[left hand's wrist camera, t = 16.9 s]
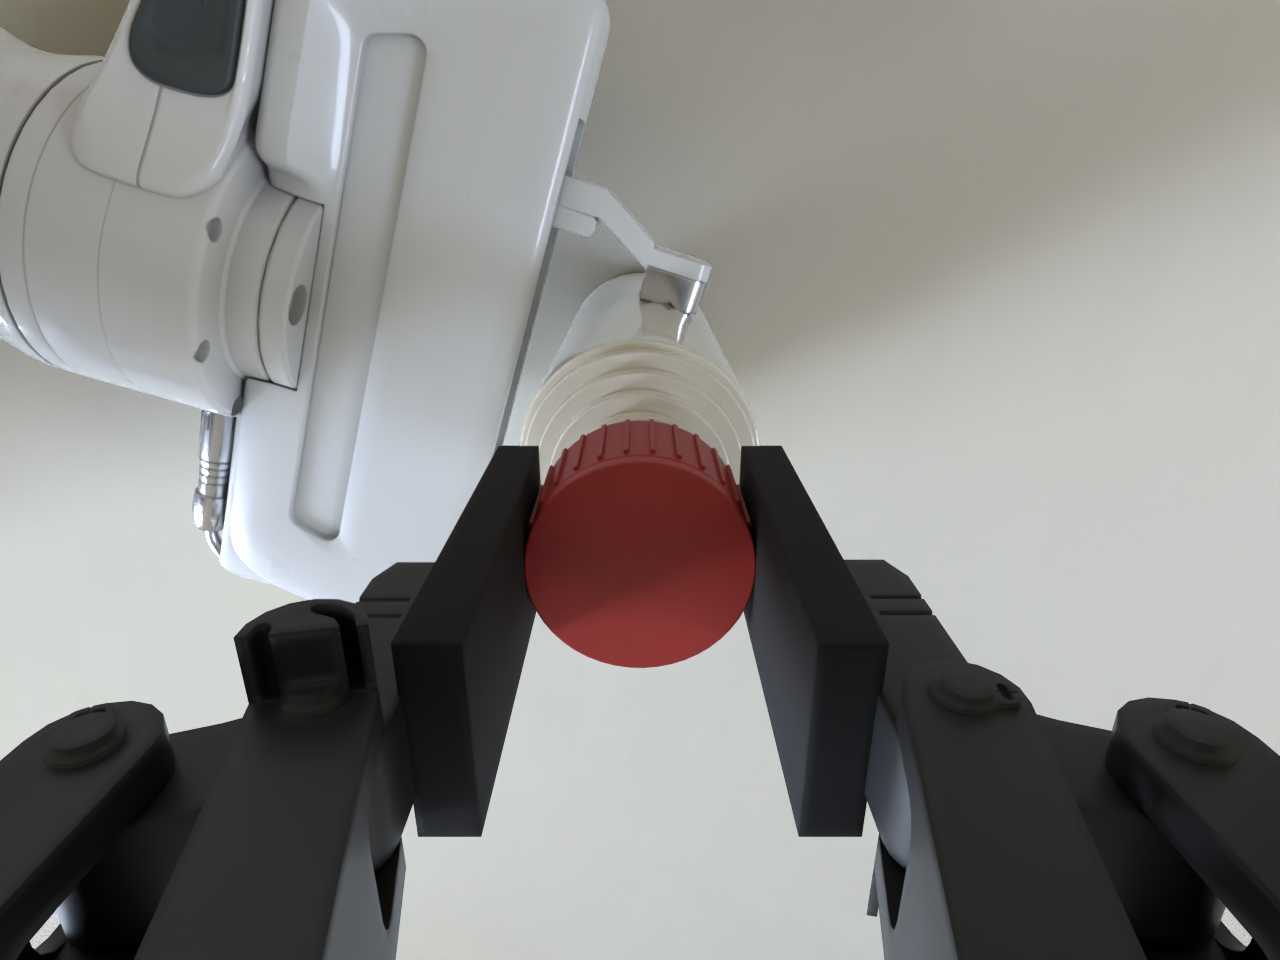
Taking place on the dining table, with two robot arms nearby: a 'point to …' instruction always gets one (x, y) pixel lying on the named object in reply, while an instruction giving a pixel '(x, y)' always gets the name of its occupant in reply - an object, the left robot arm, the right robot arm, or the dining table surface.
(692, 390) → the bottle
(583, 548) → the cap
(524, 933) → the dining table surface
